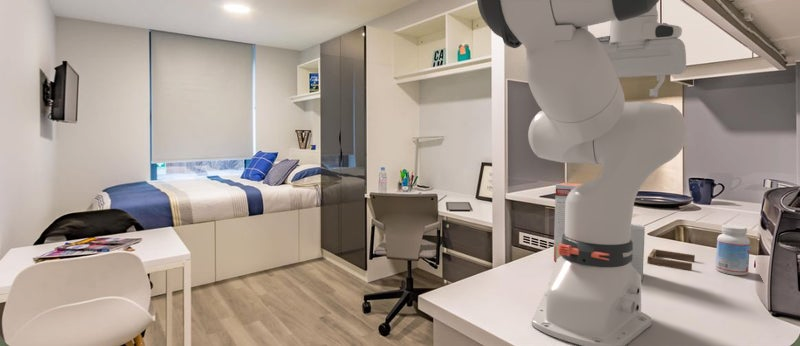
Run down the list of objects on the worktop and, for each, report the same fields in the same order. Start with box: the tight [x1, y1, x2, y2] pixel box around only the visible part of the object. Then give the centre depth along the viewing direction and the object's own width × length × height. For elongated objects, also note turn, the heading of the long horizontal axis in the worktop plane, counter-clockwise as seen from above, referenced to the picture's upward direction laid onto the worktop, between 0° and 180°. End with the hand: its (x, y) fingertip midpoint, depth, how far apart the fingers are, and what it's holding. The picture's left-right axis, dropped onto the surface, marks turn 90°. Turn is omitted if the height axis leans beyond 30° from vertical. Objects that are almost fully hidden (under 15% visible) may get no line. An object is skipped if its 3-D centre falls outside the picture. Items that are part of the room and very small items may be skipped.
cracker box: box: [553, 182, 583, 262], centre depth 101 cm, size 14×6×21 cm, turn 38°
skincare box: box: [630, 223, 646, 282], centre depth 93 cm, size 6×4×12 cm
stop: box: [647, 248, 696, 271], centre depth 104 cm, size 10×9×2 cm
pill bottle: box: [715, 224, 751, 276], centre depth 95 cm, size 6×6×11 cm
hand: (628, 97), depth 89 cm, fingers open, 8 cm apart
